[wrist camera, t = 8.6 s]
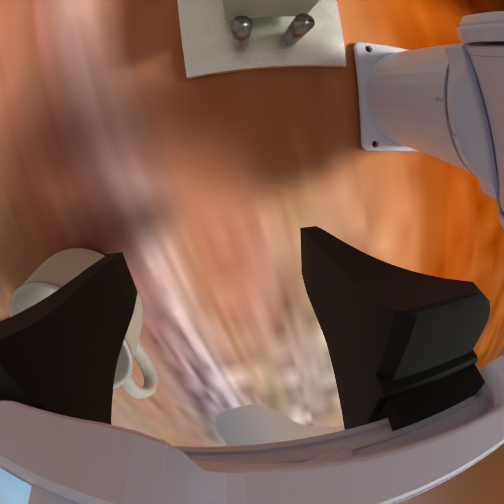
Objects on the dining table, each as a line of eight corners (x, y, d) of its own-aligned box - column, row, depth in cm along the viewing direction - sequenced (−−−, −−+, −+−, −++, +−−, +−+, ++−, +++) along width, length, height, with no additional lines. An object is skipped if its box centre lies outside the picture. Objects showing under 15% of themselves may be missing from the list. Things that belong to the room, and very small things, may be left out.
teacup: (34, 260, 21) (-10, 313, 14) (105, 207, 19) (51, 262, 12) (118, 355, 27) (99, 414, 20) (196, 330, 26) (188, 402, 19)
